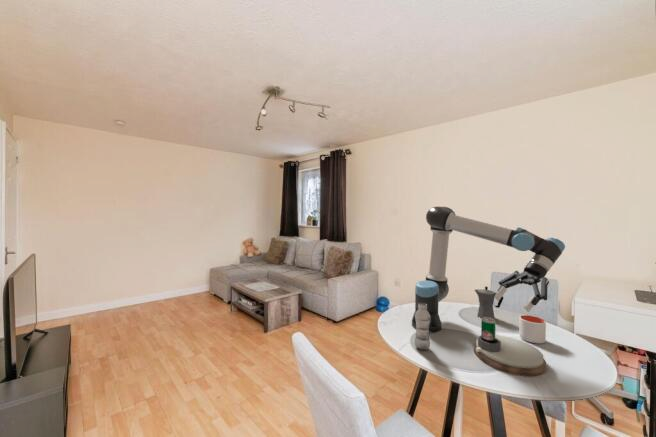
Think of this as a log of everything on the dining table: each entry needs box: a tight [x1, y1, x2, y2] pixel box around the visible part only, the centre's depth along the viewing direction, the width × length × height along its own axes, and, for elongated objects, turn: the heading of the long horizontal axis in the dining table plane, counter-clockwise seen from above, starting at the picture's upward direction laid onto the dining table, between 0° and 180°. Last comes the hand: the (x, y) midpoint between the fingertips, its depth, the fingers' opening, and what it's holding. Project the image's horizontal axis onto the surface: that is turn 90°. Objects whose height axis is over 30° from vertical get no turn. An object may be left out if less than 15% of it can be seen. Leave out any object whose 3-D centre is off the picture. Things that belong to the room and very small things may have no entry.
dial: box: [475, 334, 544, 369], centre depth 110 cm, size 25×23×5 cm
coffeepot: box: [474, 286, 504, 320], centre depth 153 cm, size 15×9×18 cm, turn 37°
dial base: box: [473, 341, 547, 377], centre depth 111 cm, size 25×25×2 cm
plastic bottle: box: [414, 303, 431, 351], centre depth 118 cm, size 6×7×20 cm
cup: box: [518, 314, 547, 344], centre depth 127 cm, size 10×10×10 cm
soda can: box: [480, 317, 496, 343], centre depth 111 cm, size 5×5×12 cm
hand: (510, 303), depth 113 cm, fingers open, 13 cm apart
